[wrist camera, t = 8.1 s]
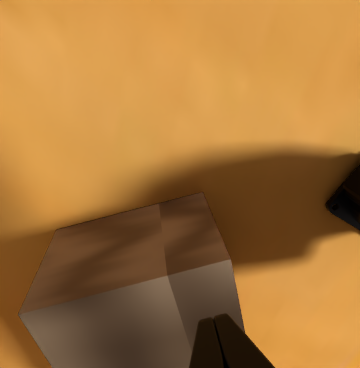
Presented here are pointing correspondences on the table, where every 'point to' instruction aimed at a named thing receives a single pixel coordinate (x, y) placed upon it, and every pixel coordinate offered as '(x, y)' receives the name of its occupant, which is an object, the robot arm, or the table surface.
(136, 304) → the socket block
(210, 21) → the table surface
